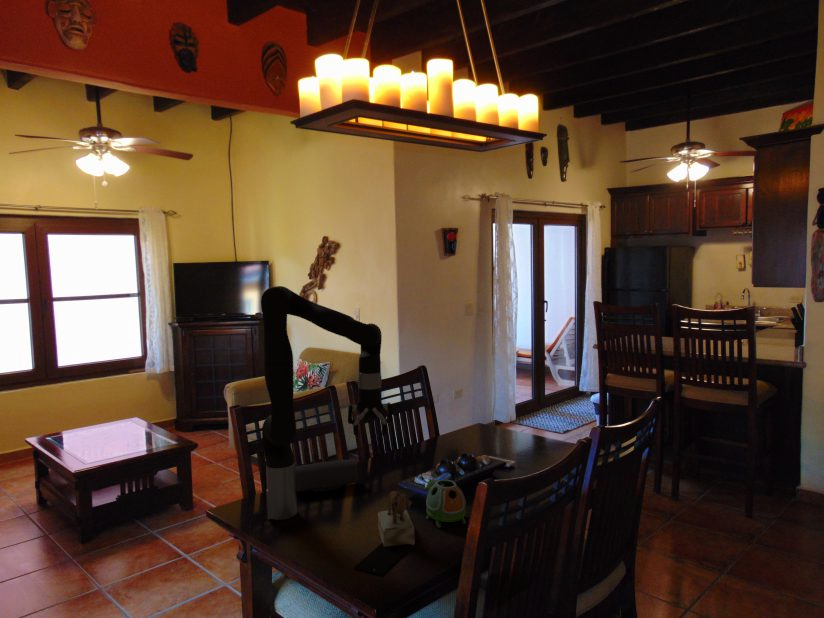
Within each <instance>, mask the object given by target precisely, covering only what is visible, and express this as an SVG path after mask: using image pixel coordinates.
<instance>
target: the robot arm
mask: <svg viewBox="0 0 824 618" xmlns="http://www.w3.org/2000/svg"><path fill="white" fill-rule="evenodd" d="M260 307H261V315H262V322H263V343H264V344H263V372H264V373H263V374H264V380H265V385H266V386H265V387H266V389H267V392H268V397H269V400H270V406H271V407H270V409H271V413H270V415H268V416H267V417H265V420H264V421H263V423H262V427H261V435H262V436H261V437H262V438H261V440H262V448H263V457H264V459H265V470H266V472H265V473H266V475H265V476H266V510H267V511H266V512H267V520H273V519H274V520H273V521H283V520H284V521H285V520H289V519H291V518H293V517H295V516H297V513H298V509H297V506H298V505H297V491H296V482H295V467H296V464H295V463H296V462H295V461H296V460H295V453H294V451H293V449H292V446H291V444H292V442H293V441H294V440H295V438H296V436H297V421H296V414H295V406H294V354H293V349H292V345H291V342H290V338H289V335H288V316H289V315H290V316H294V317H296V318H300V319H303V320H305V321H308V322H310V323H312V324H313V325H315V326H317V327H319V328H321V329H322V330H325V331H327V332H328V333H329V332H330V333H332V334H335V335H338V336H340V337H344V338H346V339H348V340H349V341H351V342H352V343H353V342H354V343H355V344H358V345H359V346H360V354H359V358H358V378H357V388H358V389H357V391H358V392H357V393H358V394H357V396H358V399H357V401H358V402H357V404H352V403H349V404H348V409H347V410H348V411H347V423H348V424H350V425H353V430H352V433H353V435H354V436H355V437H356V438H358V437H359V425H358V424H359V423H360V421H361V420H363V418H365V419H368V418H374V419H375V418H376V417H377V418H378V419H379V420H380V421H381V436H382V437H383V436H386V434H387V429H388V427H387V425H388V423H392V422H393V409H392V407H393V406H392V404H391V402H389V401H388V402H387V403H383V402H382V401H383V400H382V396H383V395H382V373H381V371H382V368H381V363H382V361H381V351H382V350H381V349H382V330H381V328H380V327H379V326H378V325H377V324H375V323H364V322H362V321H359V320H356V319H354V317H352V316H350V315H348V314H345V313H343V312H340V311H337V310H335V309H332V308H331V307H326V306H325V305H324V306H323V305H321V304H318V303H316V302H314V301H311V300H309V299H307V298H305V297H303V296H301V295H299V294H297V293H296V292H294V291H293V290H291V289H290V288H287V287H286V286H281V285H277V286H271V287H268V288H267V289H265V290H264V291H263V293H262V295H261V298H260ZM383 408H384V409H385V410H386V412H387V417H386V418H385V416H384V415H383V414H382V413H381V411H382V410H383ZM356 409H357V410H358V414H356V415H357V416H356V417H355V418H354V419H353V412H355V410H356Z"/></svg>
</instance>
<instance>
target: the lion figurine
mask: <svg viewBox="0 0 824 618" xmlns="http://www.w3.org/2000/svg"><path fill="white" fill-rule="evenodd" d="M412 503H413V502H412V500H410V499H409V498H408V497H407V495H406V494H405V493H400V494H399V493H398V492H397V491H394V490H393V491H391V492H389V495H388V505H387V507H388V510H387V511H388V513H387V514H388V515H390V514H391V510H392V515H393V523H397V520H396V513H397V514H400V520H401V521H404V520H405V519H403V513H404V511H405V510H407V508H410V507H411V505H412Z"/></svg>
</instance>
